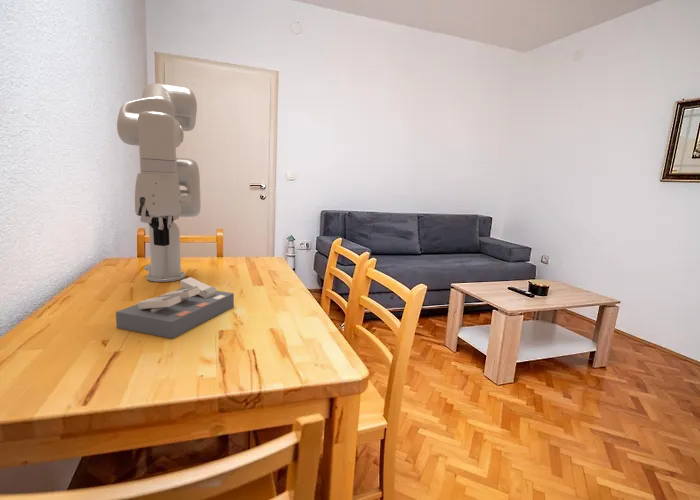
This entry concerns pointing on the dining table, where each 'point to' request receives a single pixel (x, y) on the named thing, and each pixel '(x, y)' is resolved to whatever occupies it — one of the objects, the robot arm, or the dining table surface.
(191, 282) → the rocker
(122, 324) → the switch unit
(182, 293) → the rocker
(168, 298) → the rocker
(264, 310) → the dining table surface
